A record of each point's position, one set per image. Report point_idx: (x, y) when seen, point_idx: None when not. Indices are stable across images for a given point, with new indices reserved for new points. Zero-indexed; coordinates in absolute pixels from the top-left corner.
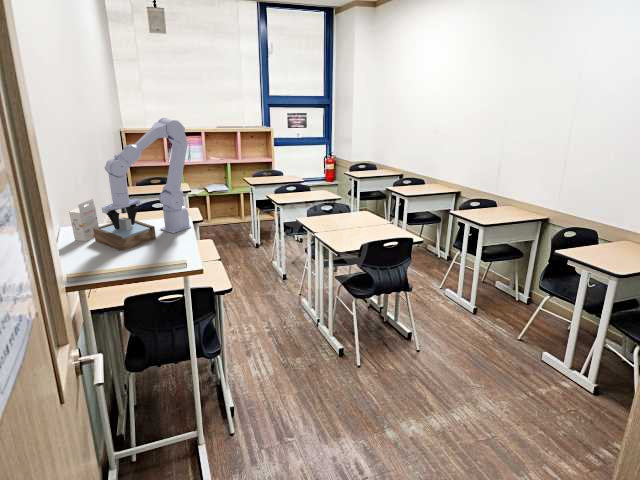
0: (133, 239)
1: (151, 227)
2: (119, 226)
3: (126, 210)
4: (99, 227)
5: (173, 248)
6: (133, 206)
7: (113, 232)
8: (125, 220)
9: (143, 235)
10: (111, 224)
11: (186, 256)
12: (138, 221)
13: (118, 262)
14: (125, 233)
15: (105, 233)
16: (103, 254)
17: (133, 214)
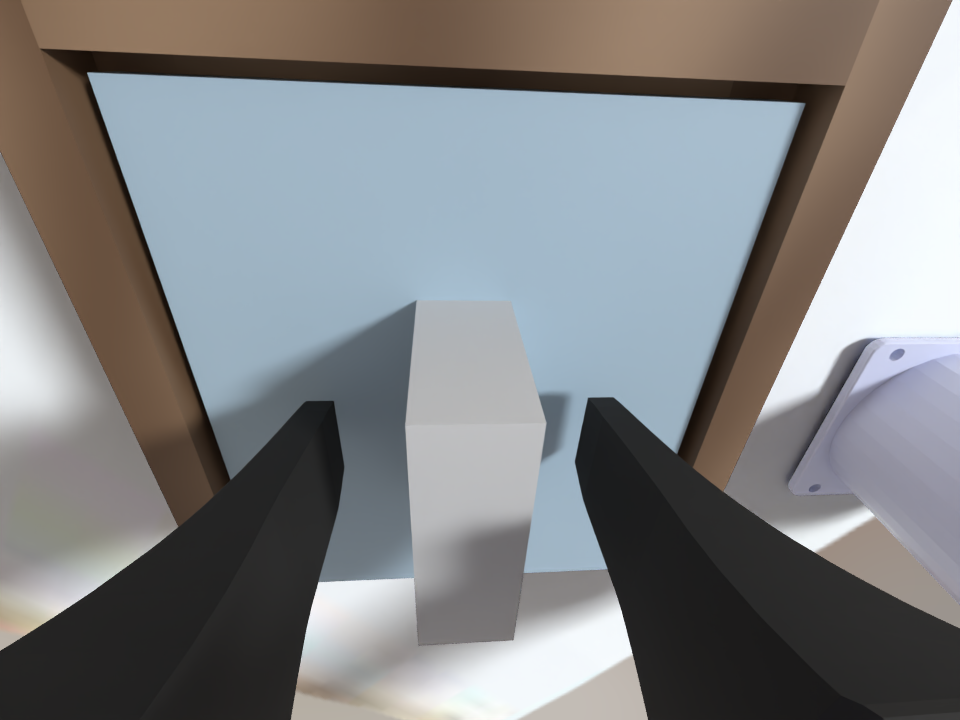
0: None
1: None
2: (335, 512)
3: (732, 590)
4: (86, 32)
5: (543, 631)
6: None
7: (255, 424)
8: (427, 628)
9: None
10: (420, 65)
11: (497, 705)
12: (779, 355)
13: None
14: (356, 536)
15: (126, 393)
16: (106, 442)
17: (643, 669)
